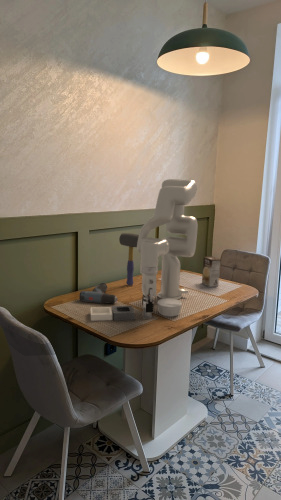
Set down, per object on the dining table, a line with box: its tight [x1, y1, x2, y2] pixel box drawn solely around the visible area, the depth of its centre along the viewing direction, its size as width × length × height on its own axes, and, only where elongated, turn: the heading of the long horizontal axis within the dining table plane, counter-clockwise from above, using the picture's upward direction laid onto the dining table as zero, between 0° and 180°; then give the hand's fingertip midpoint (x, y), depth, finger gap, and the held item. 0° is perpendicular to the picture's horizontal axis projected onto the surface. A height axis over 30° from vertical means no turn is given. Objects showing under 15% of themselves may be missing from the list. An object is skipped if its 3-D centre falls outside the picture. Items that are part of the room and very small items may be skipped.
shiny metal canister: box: [142, 296, 153, 320], centre depth 156 cm, size 4×4×9 cm
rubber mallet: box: [119, 232, 139, 287], centre depth 201 cm, size 12×8×30 cm, turn 58°
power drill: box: [79, 282, 119, 304], centre depth 181 cm, size 5×19×20 cm
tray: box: [89, 306, 113, 322], centre depth 156 cm, size 9×9×3 cm
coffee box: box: [201, 256, 221, 288], centre depth 211 cm, size 9×6×16 cm
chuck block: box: [111, 305, 136, 322], centre depth 157 cm, size 9×9×3 cm
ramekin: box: [156, 298, 183, 317], centre depth 163 cm, size 11×11×5 cm
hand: (147, 308), depth 156 cm, fingers open, 8 cm apart
